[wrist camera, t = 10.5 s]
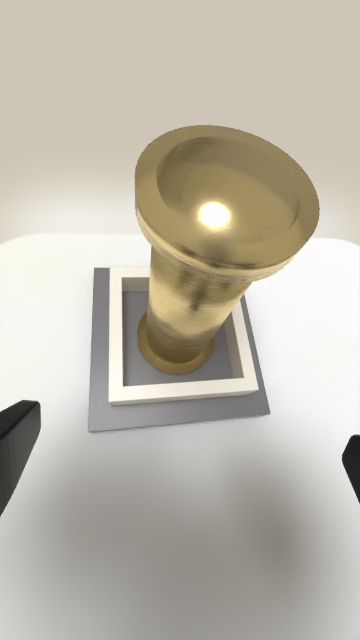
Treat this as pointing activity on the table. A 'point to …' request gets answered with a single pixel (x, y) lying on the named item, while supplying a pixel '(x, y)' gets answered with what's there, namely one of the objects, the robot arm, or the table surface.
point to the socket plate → (154, 386)
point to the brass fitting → (212, 233)
